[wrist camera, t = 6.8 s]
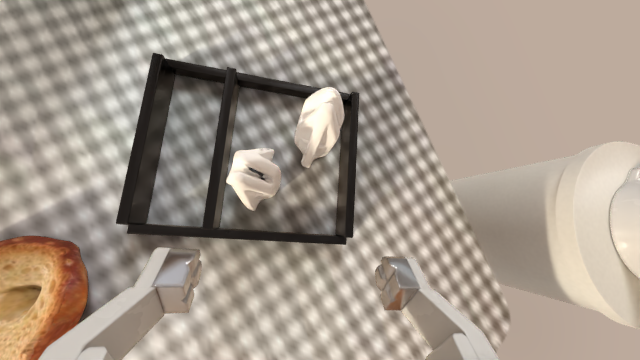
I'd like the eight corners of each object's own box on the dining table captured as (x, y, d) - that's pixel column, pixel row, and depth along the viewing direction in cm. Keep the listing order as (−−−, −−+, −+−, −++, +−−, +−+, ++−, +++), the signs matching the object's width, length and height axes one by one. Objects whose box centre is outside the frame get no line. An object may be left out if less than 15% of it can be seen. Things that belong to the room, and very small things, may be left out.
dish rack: (349, 99, 27) (359, 85, 24) (342, 243, 24) (352, 246, 21) (168, 65, 23) (154, 44, 20) (134, 232, 20) (112, 235, 17)
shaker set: (318, 113, 26) (355, 40, 15) (342, 143, 26) (395, 91, 15) (224, 179, 23) (188, 145, 12) (252, 213, 23) (240, 209, 12)
